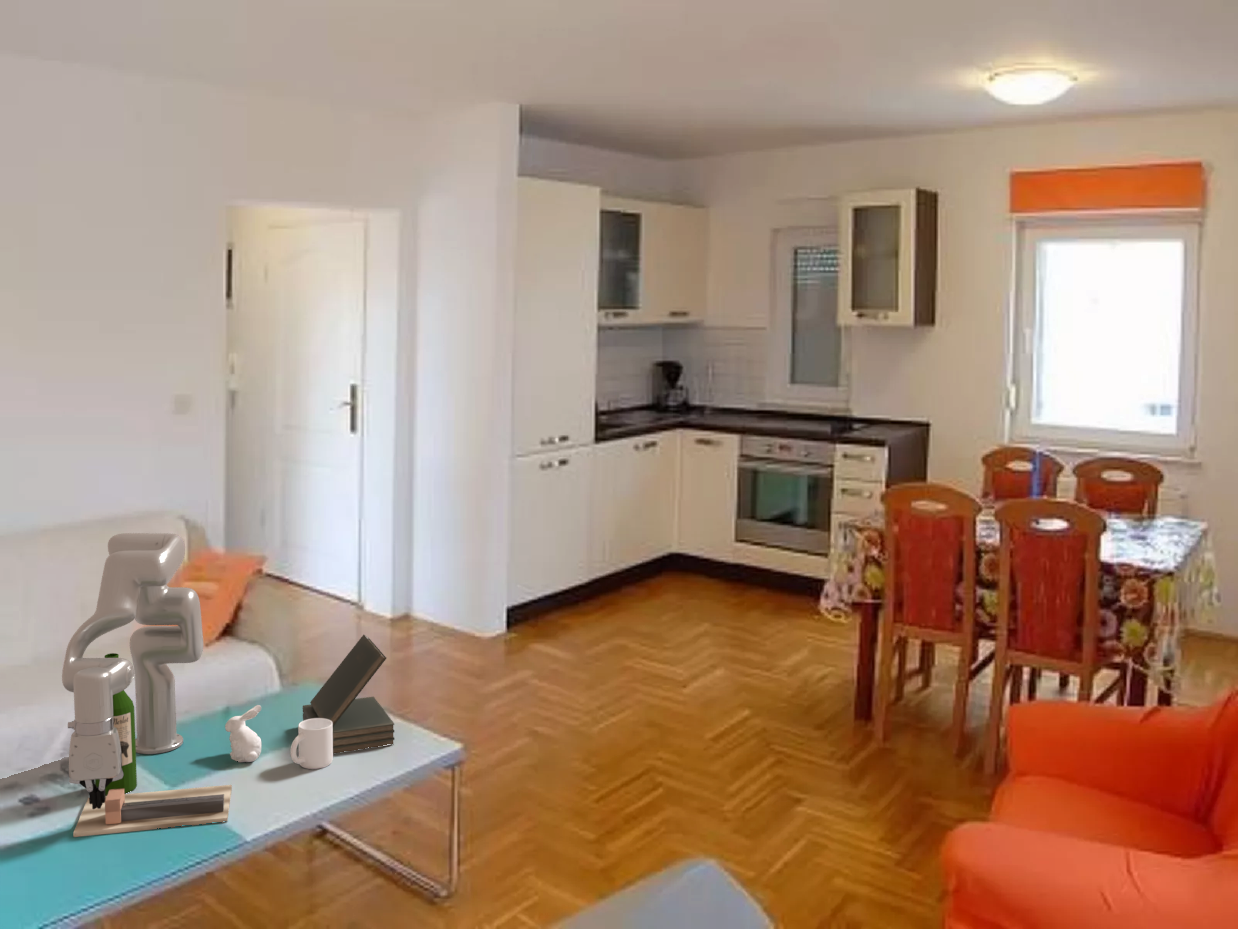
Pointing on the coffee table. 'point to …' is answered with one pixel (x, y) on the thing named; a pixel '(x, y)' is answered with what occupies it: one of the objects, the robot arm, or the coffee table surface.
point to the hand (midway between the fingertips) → (97, 806)
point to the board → (99, 820)
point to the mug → (314, 743)
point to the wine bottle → (124, 739)
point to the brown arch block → (114, 805)
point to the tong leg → (172, 800)
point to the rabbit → (244, 737)
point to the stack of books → (353, 702)
